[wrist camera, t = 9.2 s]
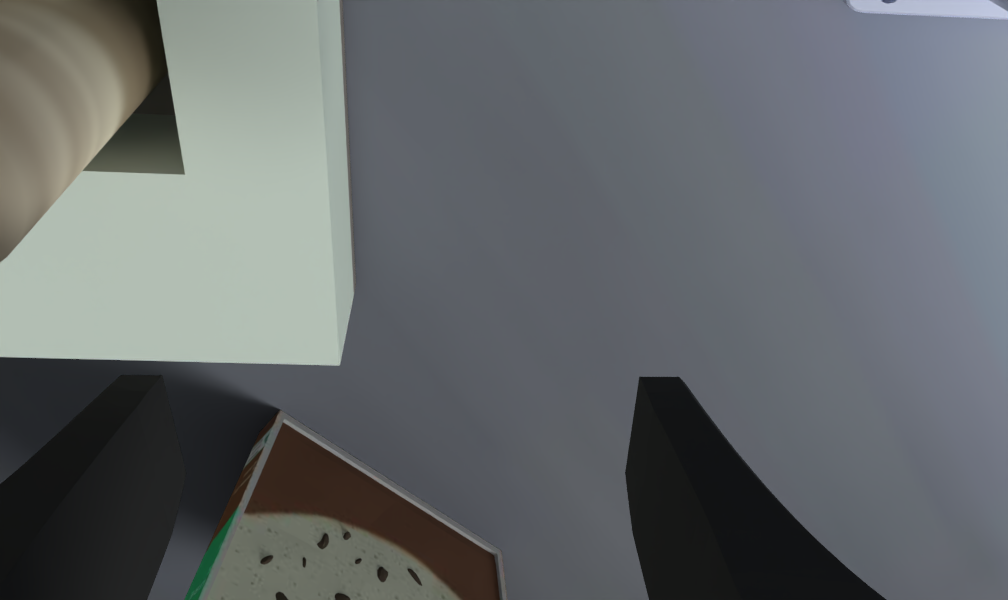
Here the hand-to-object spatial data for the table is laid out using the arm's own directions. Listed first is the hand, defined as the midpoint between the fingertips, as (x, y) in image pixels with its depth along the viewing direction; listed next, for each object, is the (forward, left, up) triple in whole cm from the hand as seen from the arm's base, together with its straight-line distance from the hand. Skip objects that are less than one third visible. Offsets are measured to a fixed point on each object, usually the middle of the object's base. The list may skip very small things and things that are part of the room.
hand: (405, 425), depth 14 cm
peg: (+7, -3, -9) cm, 12 cm away
